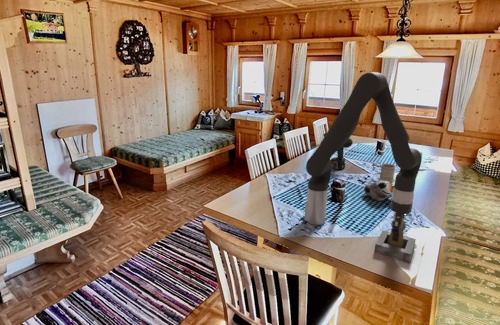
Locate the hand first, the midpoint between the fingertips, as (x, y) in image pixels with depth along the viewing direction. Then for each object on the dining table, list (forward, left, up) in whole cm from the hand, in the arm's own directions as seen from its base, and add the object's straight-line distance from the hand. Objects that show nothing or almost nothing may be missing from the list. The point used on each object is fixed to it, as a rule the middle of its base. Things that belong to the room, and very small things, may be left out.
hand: (396, 237), depth 128 cm
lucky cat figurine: (-17, +52, -6) cm, 55 cm away
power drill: (-58, +92, -6) cm, 109 cm away
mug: (-22, +84, -6) cm, 87 cm away
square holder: (0, 0, -6) cm, 6 cm away
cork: (0, 0, -4) cm, 4 cm away
